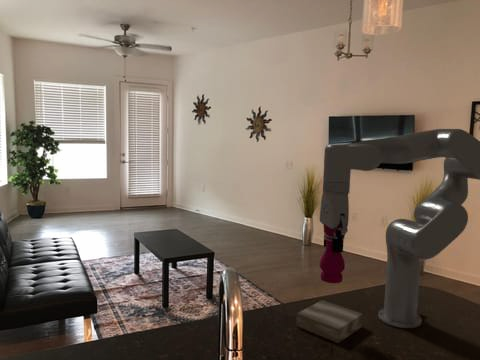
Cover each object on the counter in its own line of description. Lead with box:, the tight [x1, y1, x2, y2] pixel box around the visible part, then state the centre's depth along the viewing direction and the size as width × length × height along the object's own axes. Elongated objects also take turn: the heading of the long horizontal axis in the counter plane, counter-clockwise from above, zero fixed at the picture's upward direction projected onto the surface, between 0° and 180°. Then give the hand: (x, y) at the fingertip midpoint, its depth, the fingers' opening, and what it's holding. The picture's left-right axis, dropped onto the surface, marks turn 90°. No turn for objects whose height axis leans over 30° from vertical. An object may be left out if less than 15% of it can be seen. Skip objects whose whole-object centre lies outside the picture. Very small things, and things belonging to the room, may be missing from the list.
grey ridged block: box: [295, 299, 364, 344], centre depth 123 cm, size 14×14×4 cm
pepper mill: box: [319, 224, 346, 284], centre depth 120 cm, size 7×7×20 cm
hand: (333, 248), depth 120 cm, fingers closed on pepper mill, 5 cm apart
